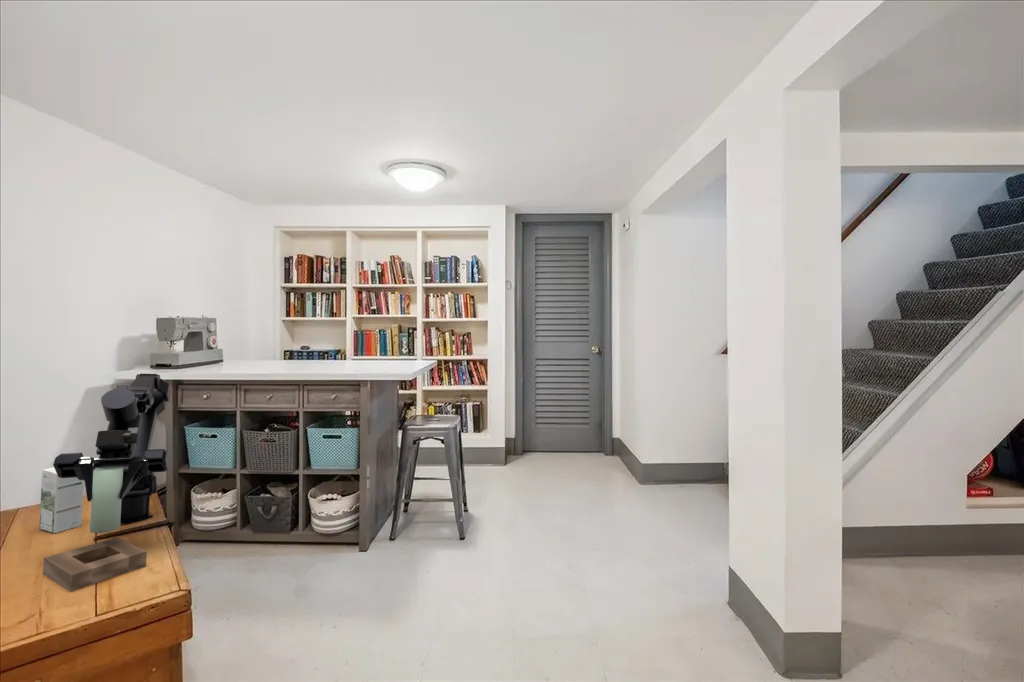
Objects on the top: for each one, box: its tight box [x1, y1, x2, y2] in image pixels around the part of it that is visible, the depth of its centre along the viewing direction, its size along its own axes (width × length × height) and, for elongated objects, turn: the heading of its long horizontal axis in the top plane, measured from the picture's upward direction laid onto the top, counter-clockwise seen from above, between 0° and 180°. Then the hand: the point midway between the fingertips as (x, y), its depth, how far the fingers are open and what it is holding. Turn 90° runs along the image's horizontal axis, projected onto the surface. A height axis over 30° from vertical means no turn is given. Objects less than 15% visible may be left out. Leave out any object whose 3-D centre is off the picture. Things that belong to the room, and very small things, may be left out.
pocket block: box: [42, 536, 148, 593], centre depth 94 cm, size 12×12×4 cm
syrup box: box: [38, 466, 84, 534], centre depth 113 cm, size 6×6×14 cm
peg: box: [89, 466, 123, 534], centre depth 99 cm, size 5×5×12 cm
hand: (105, 499), depth 98 cm, fingers closed on peg, 5 cm apart
